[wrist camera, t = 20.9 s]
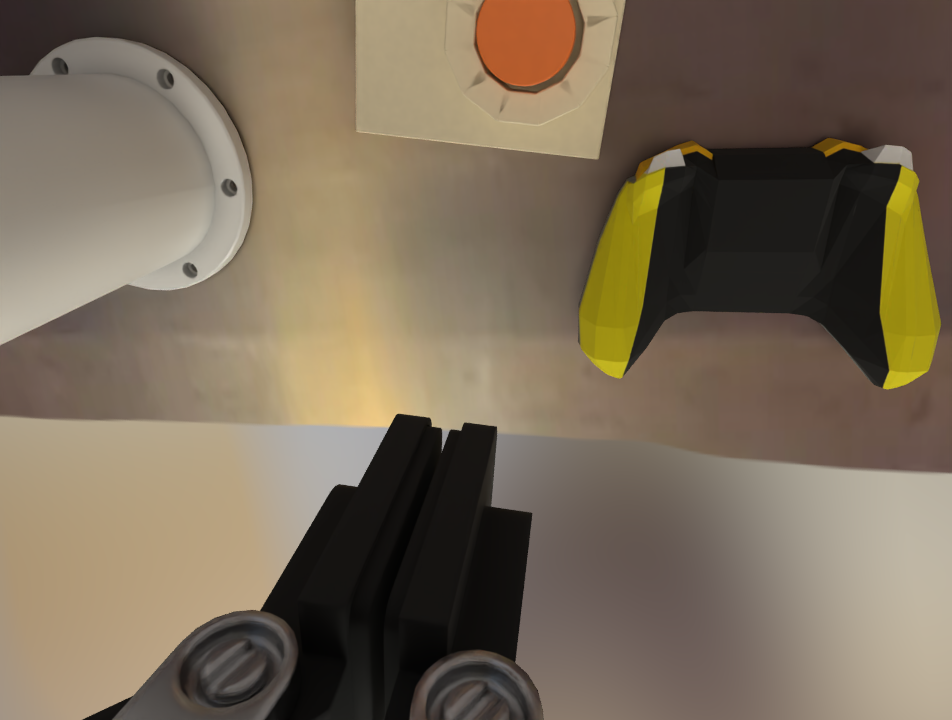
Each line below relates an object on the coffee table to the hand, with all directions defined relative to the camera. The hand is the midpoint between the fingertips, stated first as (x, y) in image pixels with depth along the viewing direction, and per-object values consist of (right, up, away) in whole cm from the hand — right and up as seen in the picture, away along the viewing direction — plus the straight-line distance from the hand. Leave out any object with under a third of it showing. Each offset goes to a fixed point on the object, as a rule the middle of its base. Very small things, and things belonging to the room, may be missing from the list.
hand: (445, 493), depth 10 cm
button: (+3, +15, +13) cm, 20 cm away
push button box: (+1, +17, +17) cm, 24 cm away
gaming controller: (+13, +8, +19) cm, 24 cm away
